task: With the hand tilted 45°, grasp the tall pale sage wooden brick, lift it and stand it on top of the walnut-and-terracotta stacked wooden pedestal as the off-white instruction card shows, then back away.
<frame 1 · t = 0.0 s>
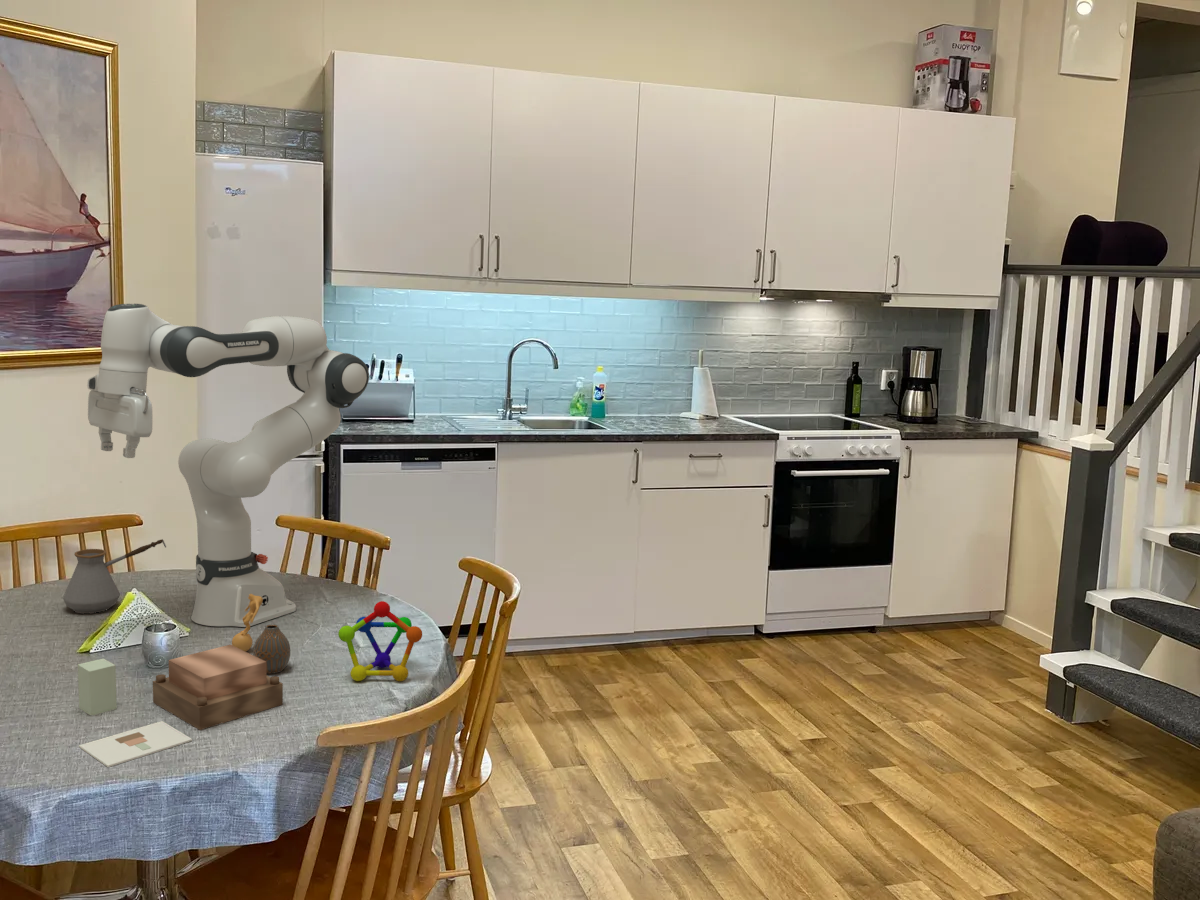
hand: (117, 454, 219), 39 cm above the table, tool pointing down, fingers open, 8 cm apart
vase: (272, 670, 213), on the table
educational toy: (378, 673, 214), on the table
instruction card: (136, 743, 178), on the table
coffee pot: (116, 607, 246), on the table
stacked wooden pedestal: (218, 703, 196), on the table
figurine: (247, 652, 222), on the table
top brick: (97, 708, 191), on the table
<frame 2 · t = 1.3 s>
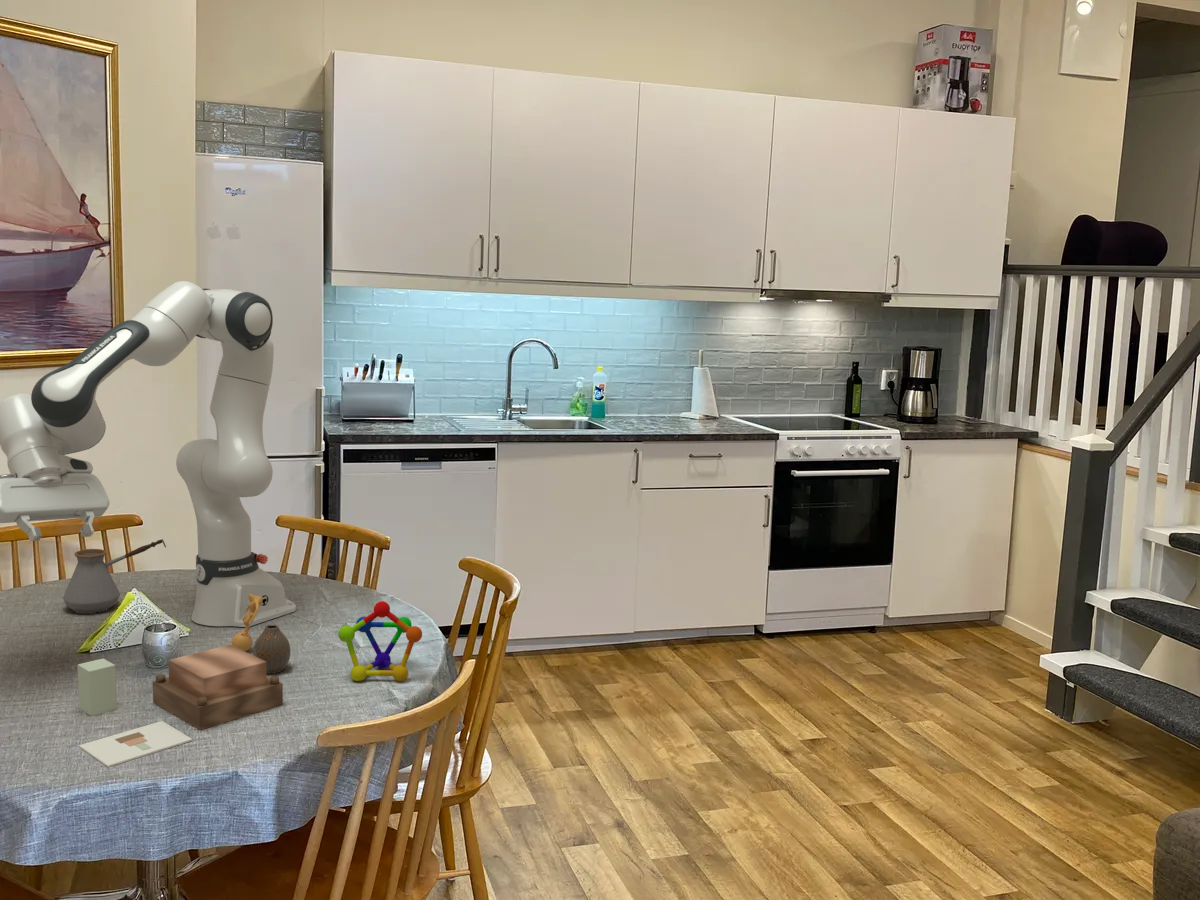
hand: (63, 537, 196), 28 cm above the table, tool tilted 45°, fingers open, 8 cm apart
nothing on the table moved.
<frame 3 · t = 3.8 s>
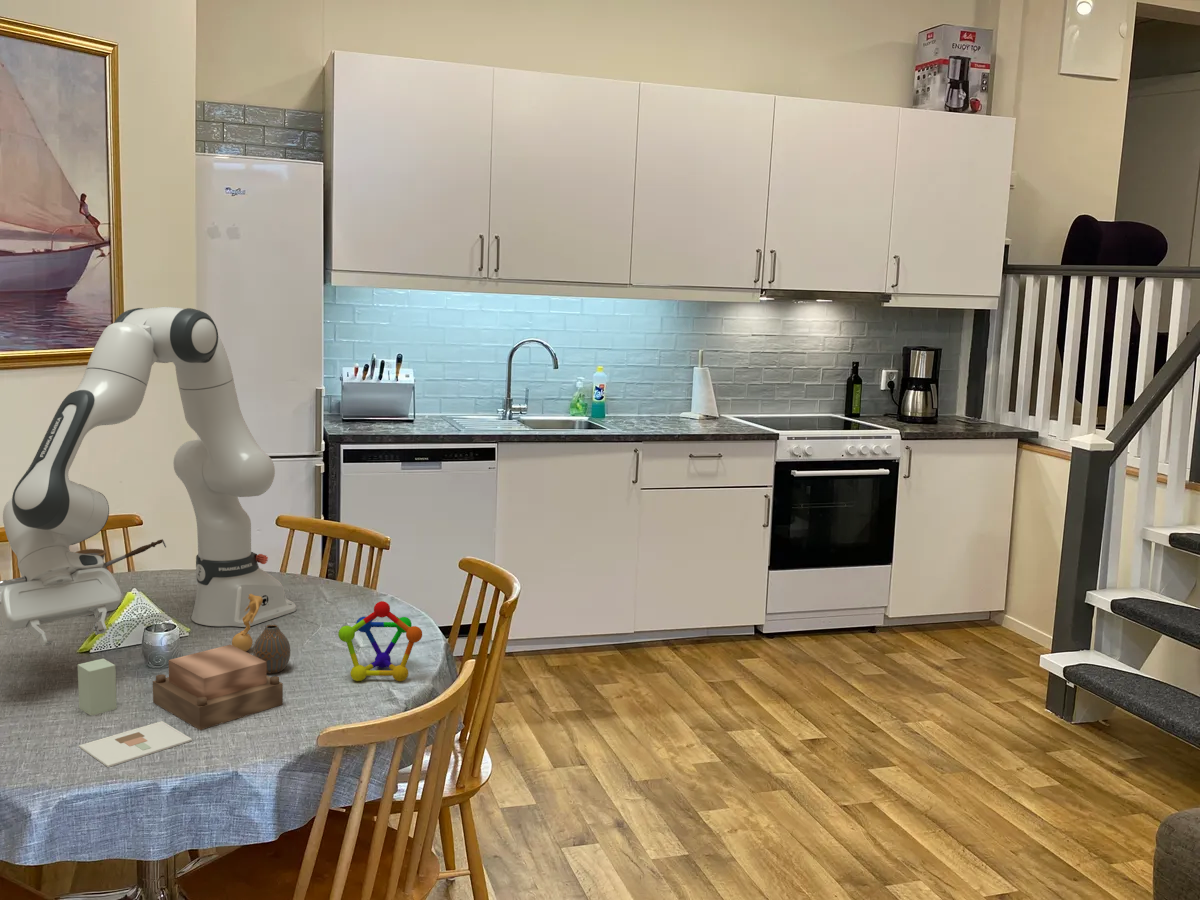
hand: (75, 638, 194), 11 cm above the table, tool tilted 45°, fingers open, 8 cm apart
nothing on the table moved.
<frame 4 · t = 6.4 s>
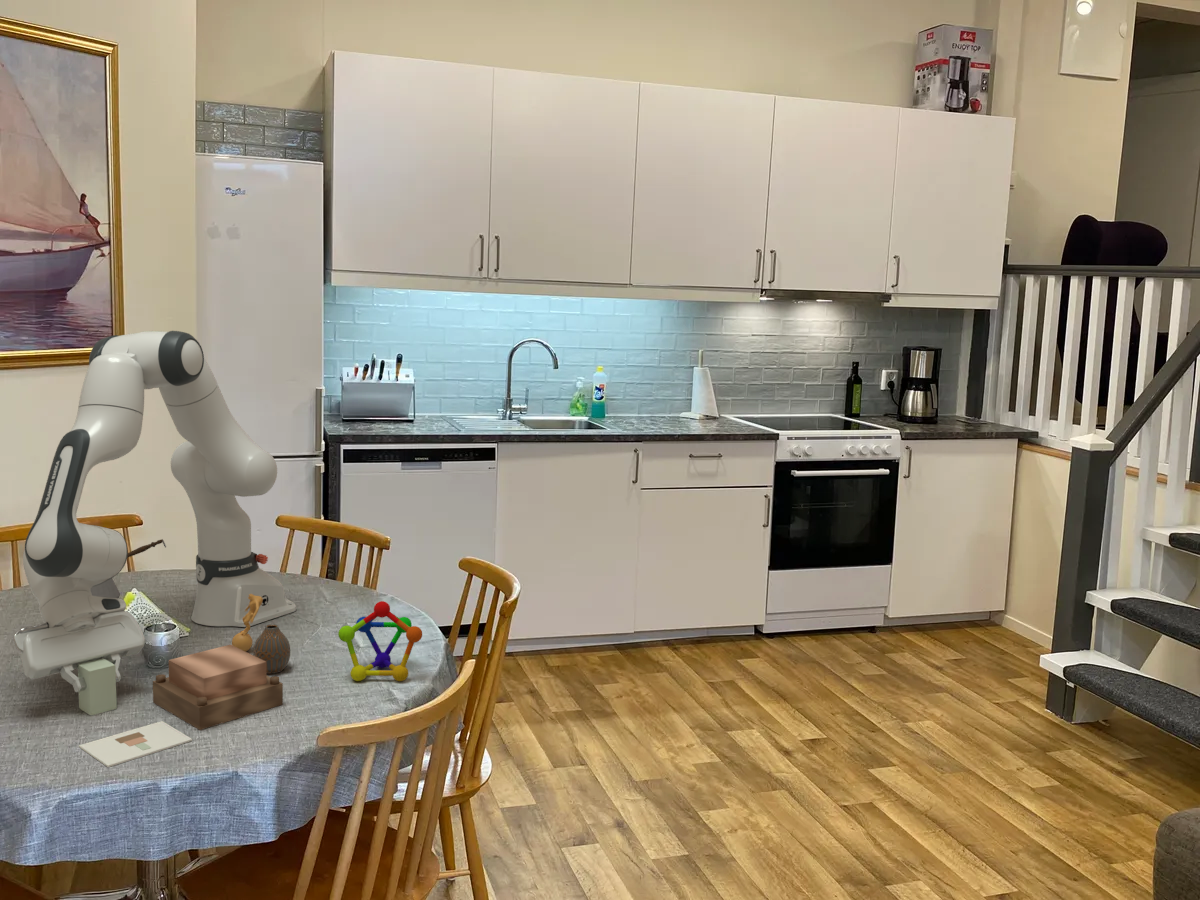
hand: (98, 685, 190), 4 cm above the table, tool tilted 45°, fingers closed on top brick, 4 cm apart
top brick: (97, 708, 191), on the table, touching gripper
everything else where it was.
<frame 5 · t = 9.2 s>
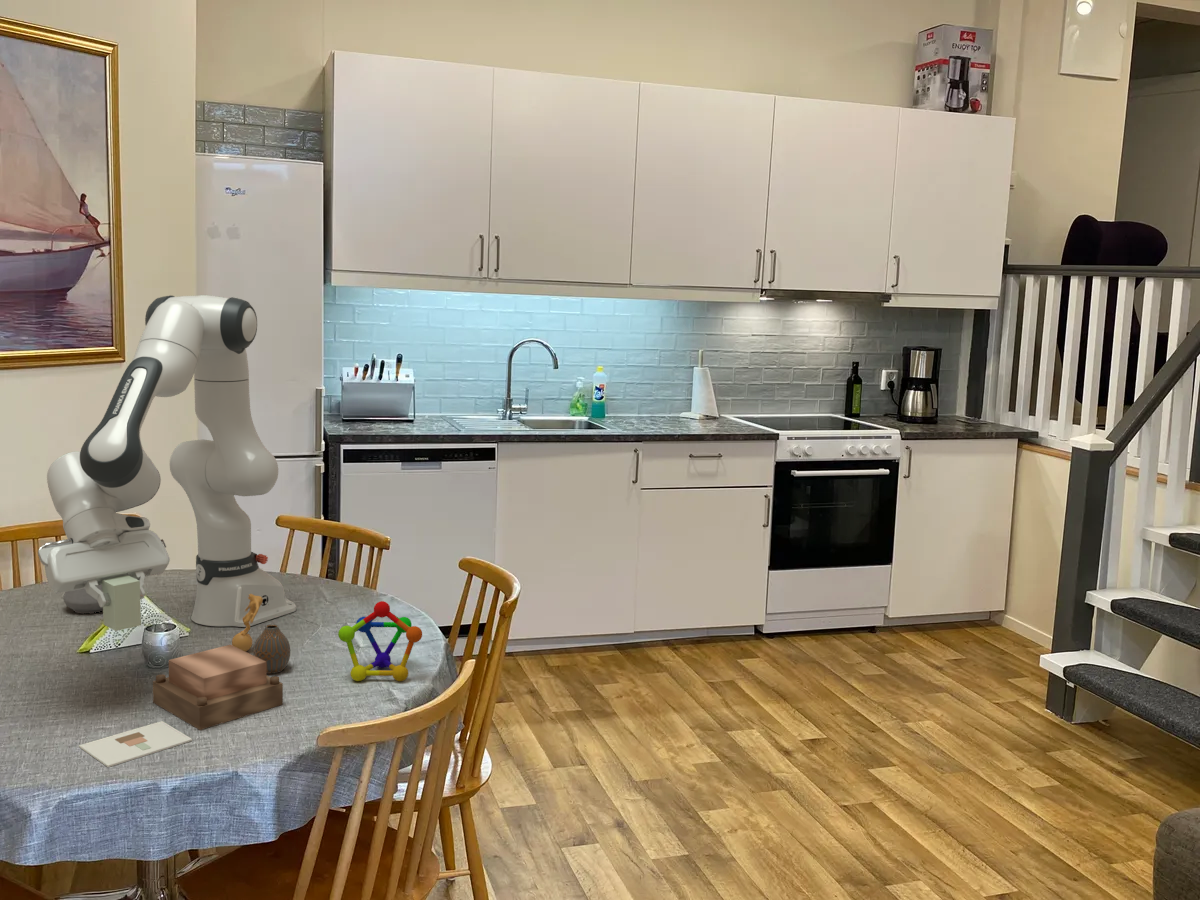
hand: (123, 601, 189), 19 cm above the table, tool tilted 45°, fingers closed on top brick, 4 cm apart
top brick: (122, 624, 190), point 15 cm above the table, touching gripper
everything else where it was.
when the fingers open (14 cm above the table, at t = 12.3 s): top brick drops 1 cm, resting on stacked wooden pedestal.
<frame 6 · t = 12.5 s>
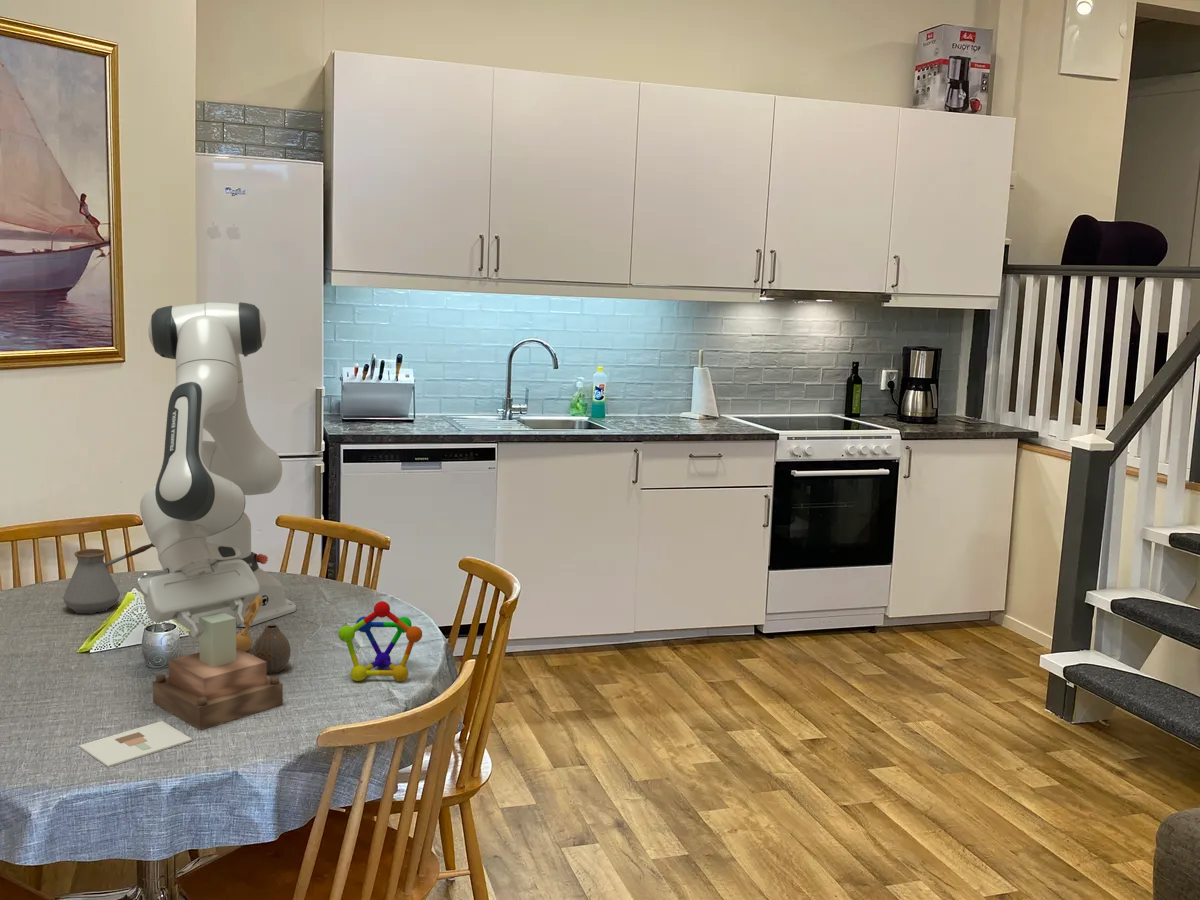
hand: (219, 630, 193), 14 cm above the table, tool tilted 45°, fingers open, 6 cm apart
top brick: (217, 660, 194), point 8 cm above the table, touching stacked wooden pedestal
everything else where it was.
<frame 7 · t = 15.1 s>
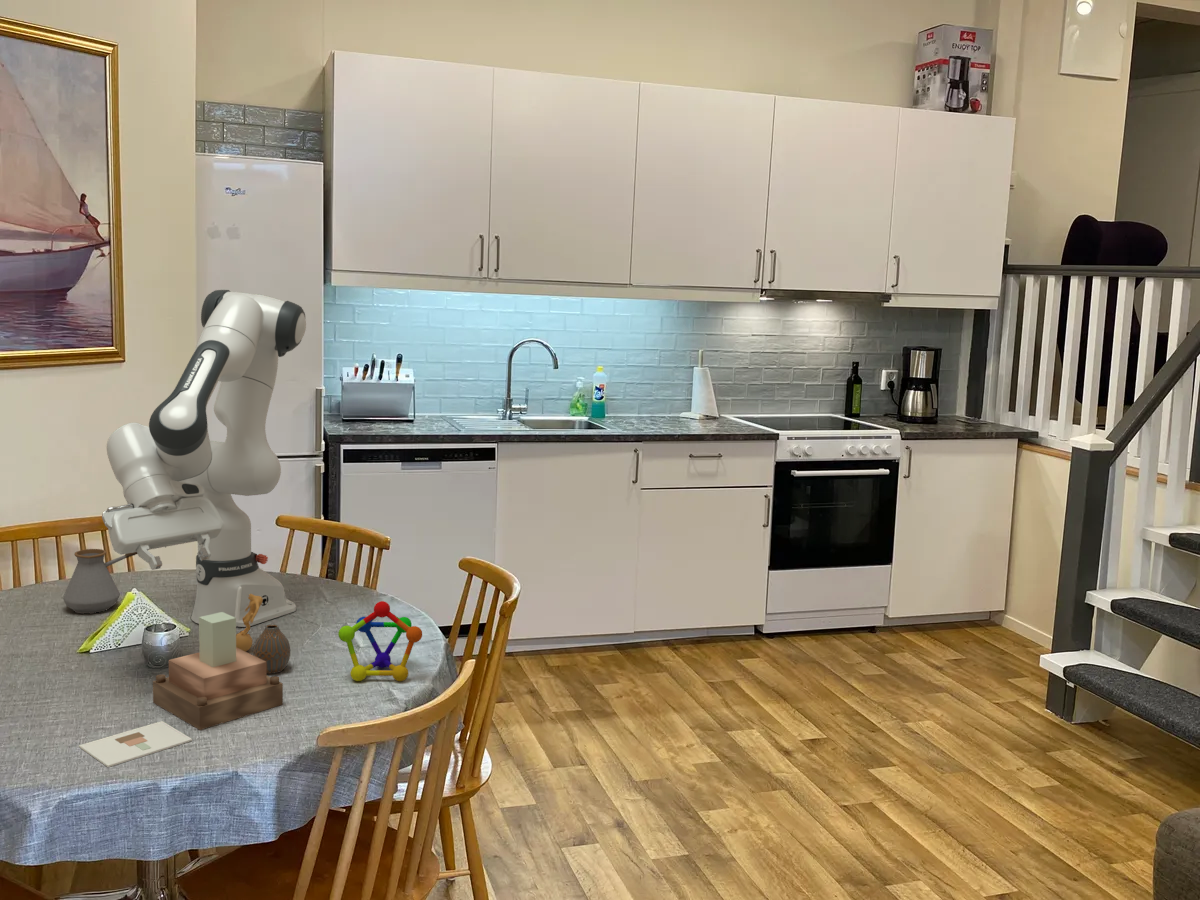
hand: (182, 562, 200), 23 cm above the table, tool tilted 45°, fingers open, 8 cm apart
nothing on the table moved.
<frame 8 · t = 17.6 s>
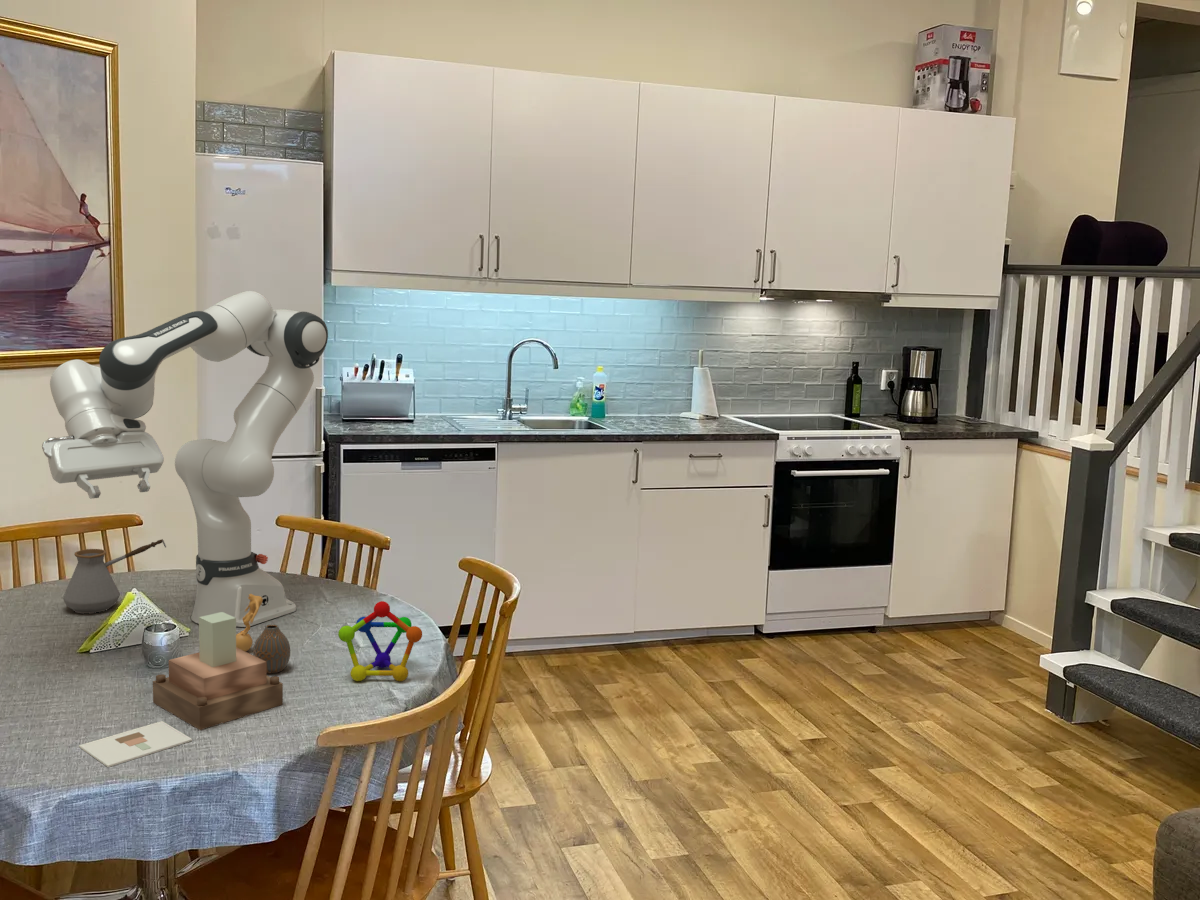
hand: (121, 493, 204), 34 cm above the table, tool tilted 45°, fingers open, 8 cm apart
nothing on the table moved.
at the end: top brick inside the target area on the stacked wooden pedestal (0.0 cm from its centre), point 8.0 cm above the stacked wooden pedestal's base; top brick tilted 0°; the gripper is holding nothing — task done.
